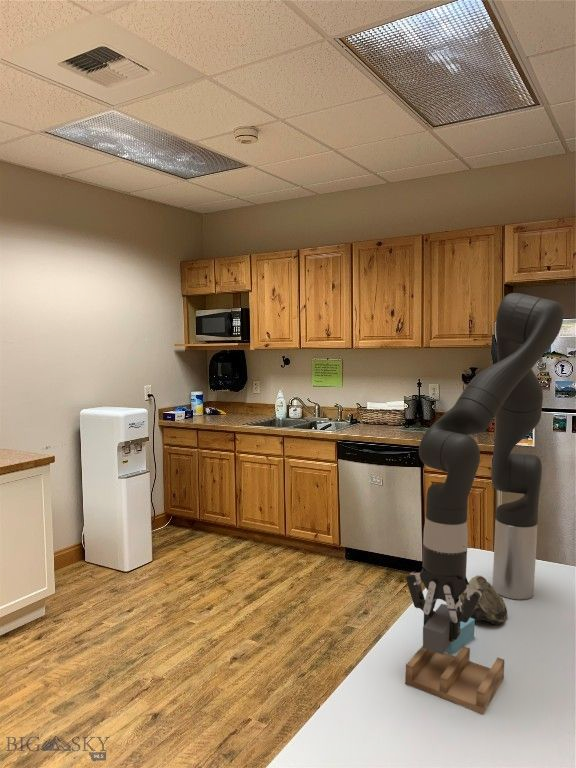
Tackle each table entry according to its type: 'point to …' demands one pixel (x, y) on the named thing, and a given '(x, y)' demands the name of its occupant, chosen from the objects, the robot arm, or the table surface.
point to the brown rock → (486, 602)
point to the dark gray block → (437, 631)
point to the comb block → (455, 677)
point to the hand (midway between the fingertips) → (441, 635)
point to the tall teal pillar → (462, 636)
